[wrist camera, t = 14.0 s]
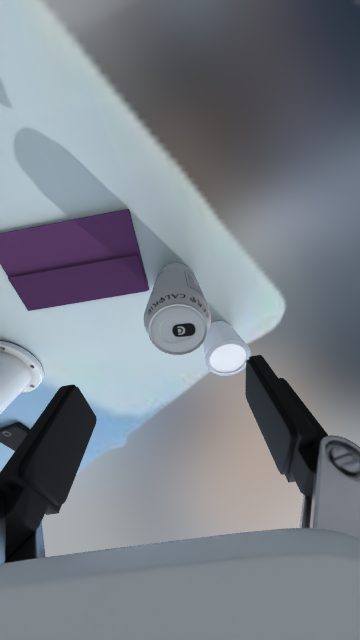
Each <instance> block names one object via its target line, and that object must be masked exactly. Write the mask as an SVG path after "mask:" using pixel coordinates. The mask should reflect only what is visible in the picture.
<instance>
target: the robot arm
mask: <svg viewBox="0 0 360 640" xmlns="http://www.w3.org/2000/svg"><path fill="white" fill-rule="evenodd" d="M43 376H44V374H43V369H42V366H41V365H40V363H39V361H38V360H37V359H36V358H35V357H34V356H33V355H32V354H31V353H29V352H28V351H26V350H25V349H23V348H21V347H19V346H17V345H15V344H12V343H9V342H4V341H0V414H1V413H2V412H3V411H4V410H5V409H6V408H7V406H8V405H9V404H10V403H11V402H12V401H13V400H14V399H15V398H16V397H17V396H18V395H19V394H20V393H25V392H29V391H31V390H34V389H35V388H36V387H37V386H38V385H39V384H40V383H41V382H42V380H43ZM246 398H247V401H248V403H249V406H250V408H251V410H252V412H253V414H254V417H255V419H256V421H257V423H258V426H259V428H260V430H261V432H262V434H263V436H264V439H265V441H266V443H267V446H268V448H269V450H270V452H271V455H272V457H273V459H274V461H275V463H276V466H277V468H278V470H279V472H280V473H281V474H282V475H283V474H285V476H286V478H287V480H288V482H295V481H296V483H297V485H298V487H299V489H300V491H301V493H303V494H304V496H303V504H302V512H301V520H300V528H292V529H276V530H265V531H255V532H245V533H235V534H227V535H219V536H210V537H202V538H194V539H186V540H177V541H169V542H161V543H153V544H146V545H137V546H129V547H121V548H113V549H105V550H97V551H90V552H83V553H74V554H67V555H60V556H52V557H45V549H44V541H43V531H42V523H41V521H42V519H43V517H44V514H46V515H49V514H56V513H59V510H60V508H61V505H62V504H63V503H64V502H65V501H66V499H67V496H68V494H69V491H70V488H71V486H72V484H73V481H74V478H75V476H76V473H77V471H78V468H79V466H80V463H81V460H82V458H83V455H84V453H85V450H86V447H87V445H88V442H89V440H90V437H91V435H92V432H93V429H94V427H95V424H96V416H95V414H94V412H93V411H92V409H91V408H90V406H89V404H88V403H87V401H86V399H85V398H84V396H83V394H82V393H81V391H80V390H79V388H78V387H76V386H75V385H67V386H62V387H61V388H60V389H59V390H58V391H57V393H56V394H55V396H54V397H53V398H52V400H51V401H50V403H49V404H48V406H47V407H46V408H45V410H44V411H43V413H42V414H41V416H40V417H39V418H38V420H37V421H36V423H35V424H34V425H33V427H32V428H31V430H30V431H29V433H28V434H27V435H26V437H25V438H24V440H23V441H22V443H21V444H20V445H19V447H18V448H17V450H16V451H15V452H14V454H13V455H12V457H11V458H10V460H9V461H8V462H7V464H6V465H5V467H4V468H3V469H2V471H1V472H0V640H360V447H359V446H358V445H356V444H355V443H353V442H351V441H350V440H348V439H345V438H343V437H339V436H328V434H327V433H326V432H325V431H324V429H323V428H322V427H321V425H320V424H319V423H318V422H317V420H316V419H315V418H314V416H313V415H312V414H311V412H310V411H309V410H308V408H307V407H306V406H305V405H304V403H303V402H302V401H301V399H300V398H299V397H298V395H297V394H296V393H295V392H294V390H293V389H292V388H291V386H290V385H289V384H288V383H287V381H286V380H284V379H283V378H278V377H277V376H276V375H275V373H274V372H273V371H272V369H271V368H270V366H269V365H268V364H267V362H266V361H265V360H264V358H263V357H262V356H261V355H257V356H251V357H249V360H246Z"/></svg>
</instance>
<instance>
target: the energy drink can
mask: <svg viewBox="0 0 360 640" xmlns="http://www.w3.org/2000/svg"><path fill="white" fill-rule="evenodd" d="M210 324H211V313H210V310H209V307H208V305H207V302H206V300H205V298H204V295H203V293H202V291H201V288H200V286H199V284H198V282H197V279H196V277H195V275H194V273H193V271H192V270H191V269H190V268H189V267H188V266H186V265H184V264H182V263H170V264H168V265H166V266H164V267H163V268H162V269H161V270H160V272H159V273H158V276H157V279H156V282H155V284H154V287H153V290H152V293H151V296H150V299H149V301H148V304H147V307H146V310H145V313H144V325H145V328H146V331H147V332H148V334H149V337H150V340H151V341H152V343H153V344H154V345H155V346H156V347H157V348H158V349H159V350H161V351H163V352H165V353H168V354H173V355H182V354H187V353H190V352H192V351H194V350H196V349H197V348H198V347H200V346H201V344H202V343H203V342H204V340H205V338H206V336H207V332H208V330H209V328H210Z"/></svg>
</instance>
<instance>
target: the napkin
mask: <svg viewBox="0 0 360 640" xmlns="http://www.w3.org/2000/svg"><path fill="white" fill-rule="evenodd" d="M0 264H1V266H2V267H3V269H4V271H5V272H6V274H7V275H8V277H9V278H8V279H9V281H10V282H11V284H12V286H13V287H14V289H15V290H16V292H17V294H18V295H19V297H20V298H21V300H22V302H23V303H24V305H25V306H26V308H27V310H28V311H30V310H36V309H42V308H48V307H54V306H60V305H66V304H72V303H78V302H84V301H90V300H96V299H102V298H108V297H114V296H120V295H126V294H132V293H138V292H144V291H147V290H149V287H148V283H147V279H146V275H145V271H144V268H143V264H142V260H141V256H140V252H139V248H138V244H137V240H136V236H135V232H134V228H133V224H132V220H131V216H130V212H129V209H126V210H121V211H115V212H110V213H105V214H100V215H95V216H89V217H84V218H79V219H74V220H68V221H63V222H58V223H53V224H48V225H42V226H37V227H32V228H27V229H21V230H16V231H11V232H6V233H1V234H0Z"/></svg>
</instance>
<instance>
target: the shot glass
mask: <svg viewBox="0 0 360 640" xmlns="http://www.w3.org/2000/svg"><path fill="white" fill-rule="evenodd" d="M203 343H204V353H205V363H206V366H207V367H208V369H209V370H210V371H211V372H213V373H214V374H217V375H222V376H226V375H233V374H235V373H238V372H240V371H241V370H243V369H244V368H245V367H246V360H249V357H251V352H250V350H249V348H248V346H247V345H246V343H245V342H244V341H243V340H242V338H241V337H240V336H239V335H238V334H237V332H236V331H235V330H234V329H233V328H232V326H231V325H230V324H228V323H227V322H224V321H214V322H212V323H211V324H210V328H209V330H208V332H207V336H206V338H205V340H204V342H203Z"/></svg>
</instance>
